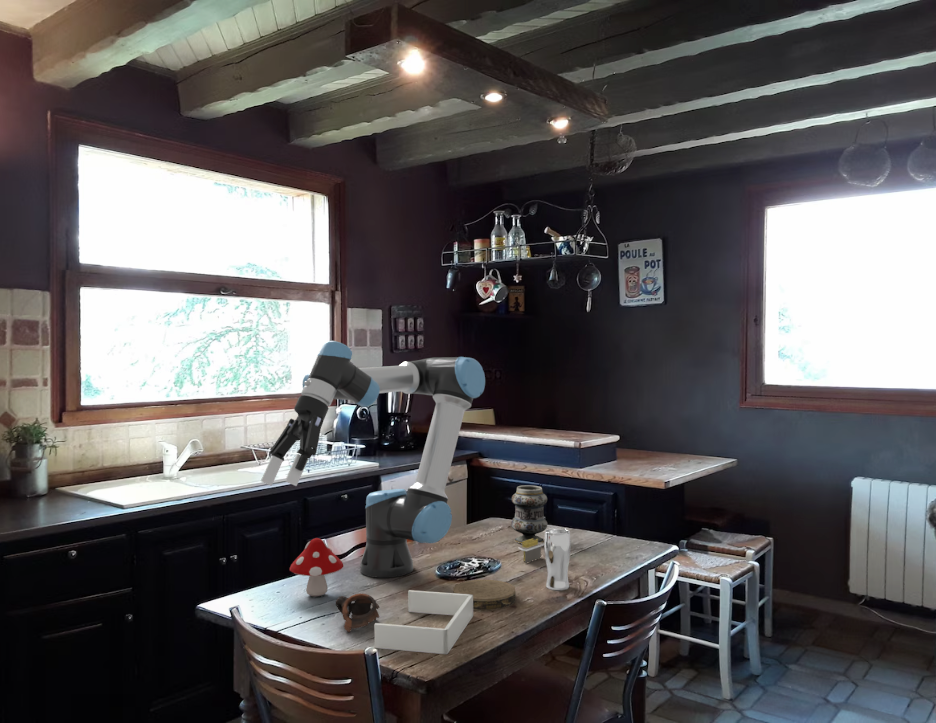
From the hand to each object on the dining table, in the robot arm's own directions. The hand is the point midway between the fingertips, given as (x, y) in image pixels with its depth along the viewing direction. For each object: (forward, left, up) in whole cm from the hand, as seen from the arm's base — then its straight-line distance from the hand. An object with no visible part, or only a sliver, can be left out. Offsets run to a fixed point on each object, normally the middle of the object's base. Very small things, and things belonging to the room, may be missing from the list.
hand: (278, 483), depth 171 cm
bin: (-5, +34, -33) cm, 47 cm away
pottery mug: (-6, +17, -33) cm, 38 cm away
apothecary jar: (-90, +44, -33) cm, 106 cm away
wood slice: (-29, +42, -34) cm, 61 cm away
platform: (-67, +48, -34) cm, 89 cm away
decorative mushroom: (-23, -1, -33) cm, 41 cm away
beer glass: (-43, +59, -33) cm, 80 cm away
